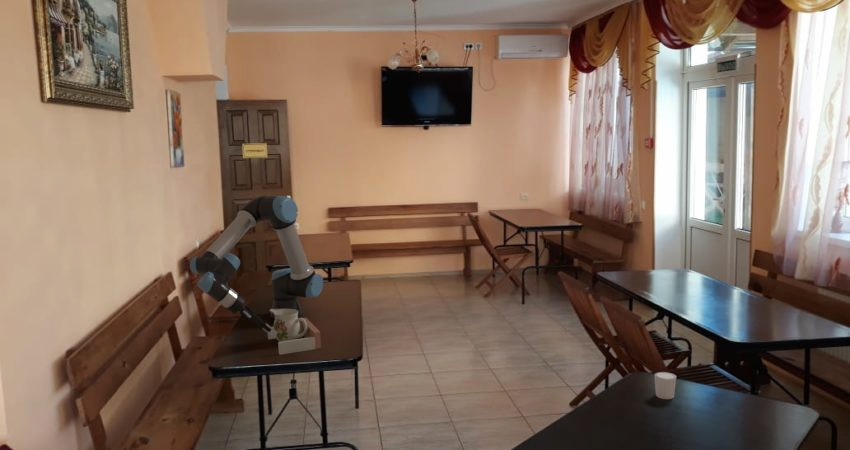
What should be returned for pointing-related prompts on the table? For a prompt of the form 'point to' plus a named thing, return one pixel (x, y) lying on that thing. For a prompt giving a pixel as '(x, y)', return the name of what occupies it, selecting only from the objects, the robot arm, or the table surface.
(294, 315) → the pitcher
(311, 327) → the deck bay
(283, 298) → the robot arm
